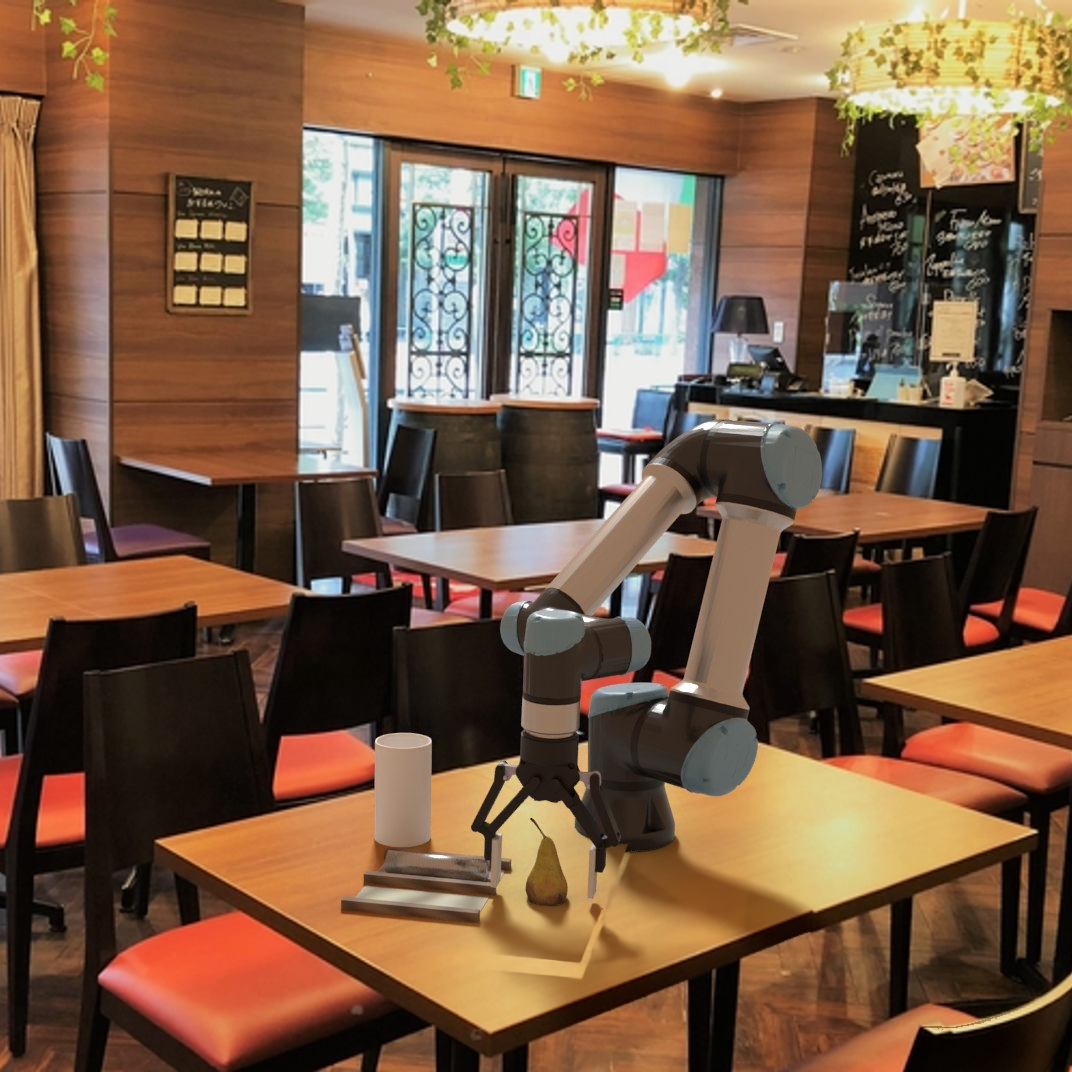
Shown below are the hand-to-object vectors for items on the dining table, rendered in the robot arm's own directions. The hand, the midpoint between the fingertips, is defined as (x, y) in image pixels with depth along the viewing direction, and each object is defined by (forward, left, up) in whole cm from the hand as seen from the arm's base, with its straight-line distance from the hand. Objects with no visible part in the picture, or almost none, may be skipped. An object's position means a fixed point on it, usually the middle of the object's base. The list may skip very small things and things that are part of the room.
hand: (543, 889), depth 197 cm
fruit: (0, 0, -3) cm, 3 cm away
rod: (+16, -5, -1) cm, 16 cm away
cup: (+25, -18, -3) cm, 31 cm away
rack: (+16, 0, -3) cm, 16 cm away
